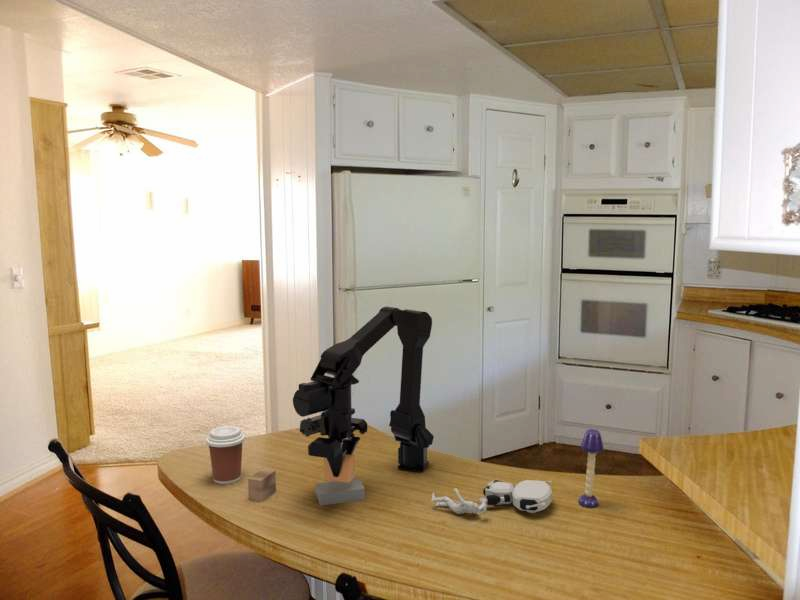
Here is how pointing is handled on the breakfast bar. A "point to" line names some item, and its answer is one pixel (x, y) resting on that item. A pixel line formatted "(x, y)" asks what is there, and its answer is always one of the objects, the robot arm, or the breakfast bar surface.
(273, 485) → the walnut brick
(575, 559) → the breakfast bar surface
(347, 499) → the grey brick
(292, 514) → the breakfast bar surface
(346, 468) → the orange brick
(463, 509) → the white plastic figure
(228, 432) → the coffee cup
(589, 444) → the toy lamp
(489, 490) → the robot toy
